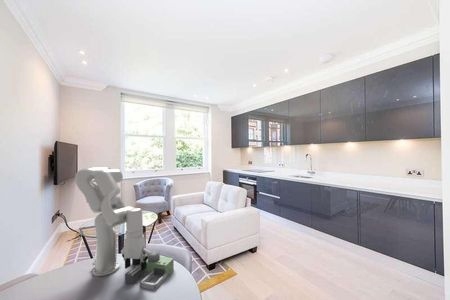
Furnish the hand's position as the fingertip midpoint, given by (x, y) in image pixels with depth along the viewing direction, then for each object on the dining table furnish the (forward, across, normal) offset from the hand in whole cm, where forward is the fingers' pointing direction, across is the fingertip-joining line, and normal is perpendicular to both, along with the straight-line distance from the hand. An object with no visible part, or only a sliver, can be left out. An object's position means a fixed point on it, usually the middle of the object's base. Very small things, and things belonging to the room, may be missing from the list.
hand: (135, 268), depth 94 cm
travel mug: (+5, -10, +14) cm, 18 cm away
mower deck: (+6, +6, +5) cm, 9 cm away
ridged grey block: (+6, -2, 0) cm, 6 cm away
